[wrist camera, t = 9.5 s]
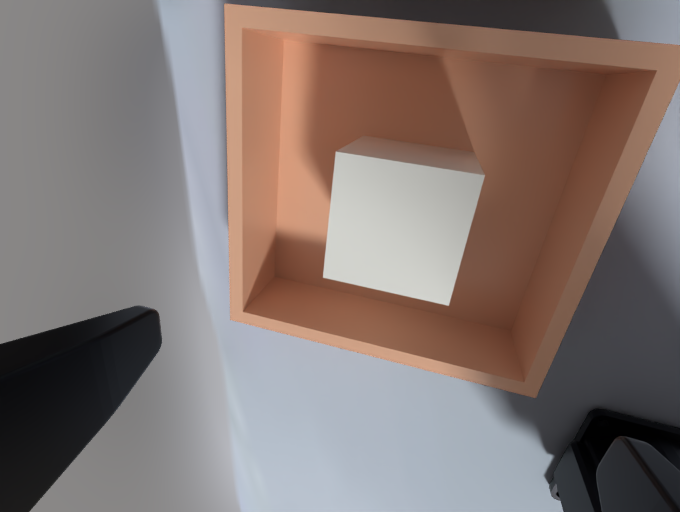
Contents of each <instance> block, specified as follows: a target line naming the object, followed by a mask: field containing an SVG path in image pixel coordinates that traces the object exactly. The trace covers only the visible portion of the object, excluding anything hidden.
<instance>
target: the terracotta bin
mask: <svg viewBox="0 0 680 512" xmlns="http://www.w3.org/2000/svg"><path fill="white" fill-rule="evenodd" d="M224 19H225V71H226V123H227V174H228V226H229V278H230V320H233V321H237V322H241V323H245V324H248V325H252V326H256V327H260V328H264V329H268V330H272V331H276V332H280V333H283V334H287V335H291V336H295V337H299V338H303V339H307V340H311V341H315V342H318V343H322V344H326V345H330V346H334V347H338V348H342V349H346V350H350V351H354V352H357V353H361V354H365V355H369V356H373V357H377V358H381V359H385V360H389V361H392V362H396V363H400V364H404V365H408V366H412V367H416V368H420V369H424V370H427V371H431V372H435V373H439V374H443V375H447V376H451V377H455V378H459V379H462V380H466V381H470V382H474V383H478V384H482V385H486V386H490V387H494V388H497V389H501V390H505V391H509V392H513V393H517V394H521V395H525V396H529V397H532V398H536V397H537V395H538V392H539V390H540V388H541V386H542V383H543V381H544V379H545V377H546V375H547V372H548V370H549V368H550V366H551V364H552V361H553V359H554V357H555V355H556V353H557V350H558V348H559V346H560V344H561V342H562V339H563V337H564V335H565V333H566V331H567V328H568V326H569V324H570V322H571V320H572V317H573V315H574V313H575V311H576V309H577V306H578V304H579V302H580V300H581V298H582V295H583V293H584V291H585V289H586V286H587V284H588V282H589V280H590V278H591V275H592V273H593V271H594V269H595V267H596V264H597V262H598V260H599V258H600V256H601V253H602V251H603V249H604V247H605V245H606V242H607V240H608V238H609V236H610V234H611V231H612V229H613V227H614V225H615V223H616V220H617V218H618V216H619V214H620V212H621V209H622V207H623V205H624V203H625V200H626V198H627V196H628V194H629V192H630V189H631V187H632V185H633V183H634V181H635V178H636V176H637V174H638V172H639V170H640V167H641V165H642V163H643V161H644V159H645V156H646V154H647V152H648V150H649V148H650V145H651V143H652V141H653V139H654V137H655V134H656V132H657V130H658V128H659V126H660V123H661V121H662V119H663V117H664V115H665V112H666V110H667V108H668V106H669V103H670V101H671V99H672V97H673V95H674V92H675V90H676V88H677V86H678V84H679V81H680V45H673V44H662V43H651V42H640V41H629V40H618V39H607V38H596V37H585V36H574V35H563V34H552V33H541V32H530V31H519V30H509V29H498V28H487V27H476V26H465V25H454V24H443V23H432V22H421V21H410V20H399V19H388V18H377V17H366V16H355V15H345V14H334V13H323V12H312V11H301V10H290V9H279V8H268V7H257V6H246V5H235V4H224ZM362 136H370V137H377V138H383V139H390V140H397V141H404V142H410V143H417V144H424V145H430V146H437V147H444V148H450V149H457V150H464V151H470V152H475V154H476V157H477V159H478V161H479V163H480V165H481V168H482V170H483V172H484V174H485V177H484V181H483V184H482V188H481V191H480V195H479V199H478V202H477V206H476V209H475V213H474V217H473V220H472V224H471V227H470V231H469V235H468V238H467V242H466V245H465V249H464V253H463V256H462V260H461V263H460V267H459V271H458V274H457V278H456V281H455V285H454V289H453V292H452V296H451V299H450V303H449V306H448V305H443V304H439V303H434V302H430V301H425V300H421V299H416V298H412V297H407V296H403V295H398V294H394V293H389V292H385V291H381V290H376V289H372V288H367V287H363V286H358V285H354V284H349V283H345V282H340V281H336V280H331V279H327V278H323V271H324V261H325V252H326V242H327V232H328V222H329V213H330V203H331V193H332V184H333V174H334V164H335V154H336V151H338V150H339V149H341V148H343V147H345V146H346V145H348V144H350V143H352V142H353V141H355V140H357V139H358V138H360V137H362Z"/></svg>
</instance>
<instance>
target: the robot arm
mask: <svg viewBox="0 0 680 512" xmlns="http://www.w3.org/2000/svg"><path fill="white" fill-rule="evenodd" d="M161 344H162V336H161V326H160V318H159V313H158V312H157V311H156V310H155V309H152V308H148V307H145V306H134V307H131V308H127V309H123V310H120V311H116V312H112V313H109V314H106V315H102V316H98V317H95V318H91V319H88V320H84V321H80V322H77V323H73V324H70V325H66V326H63V327H59V328H56V329H52V330H48V331H45V332H41V333H38V334H35V335H31V336H27V337H24V338H20V339H17V340H13V341H9V342H6V343H3V344H0V512H29V511H30V510H31V509H32V508H33V507H34V506H35V505H36V503H37V502H38V501H39V500H40V498H42V497H43V495H44V494H45V493H46V492H47V491H48V489H49V488H50V487H51V486H52V485H53V484H54V483H55V481H56V480H57V479H58V478H59V477H60V476H61V474H62V473H63V472H64V471H65V470H66V469H67V467H68V466H69V465H70V464H71V463H72V462H73V460H74V459H75V458H76V457H77V456H78V455H79V454H80V452H81V451H82V450H83V449H84V448H85V447H86V445H87V444H88V443H89V442H90V441H91V440H92V438H93V437H94V436H95V435H96V434H97V433H98V431H99V430H100V429H101V428H102V427H103V426H104V425H105V423H106V422H107V421H108V420H109V419H110V417H111V416H112V415H113V414H114V412H115V411H116V410H117V409H118V407H119V406H120V405H121V403H122V402H123V400H124V399H125V398H126V396H127V395H128V394H129V392H130V391H131V389H132V388H133V387H134V385H135V384H136V382H137V381H138V380H139V378H140V377H141V375H142V374H143V373H144V371H145V370H146V368H147V367H148V366H149V364H150V363H151V361H152V360H153V358H154V357H155V356H156V354H157V353H158V351H159V349H160V347H161ZM600 419H604V420H601V421H598V420H600ZM553 475H554V478H553V479H552V481H551V483H550V485H549V489H550V492H551V495H552V497H553V498H554V499H556V500H559V501H561V504H562V507H563V511H564V512H680V429H679V428H675V427H671V426H667V425H663V424H659V423H655V422H651V421H647V420H643V419H639V418H635V417H631V416H627V415H623V414H620V413H616V412H612V411H608V410H604V409H595V410H593V411H591V412H590V413H589V414H588V416H587V418H586V419H585V421H584V423H583V425H582V427H581V428H580V430H579V432H578V434H577V436H576V438H575V439H574V441H573V442H571V443H570V444H569V446H568V447H567V449H566V451H565V453H564V455H563V457H562V458H561V460H560V462H559V464H558V466H557V468H556V470H555V471H554V474H553Z"/></svg>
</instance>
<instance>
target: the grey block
mask: <svg viewBox="0 0 680 512" xmlns="http://www.w3.org/2000/svg"><path fill="white" fill-rule="evenodd" d="M484 177H485V174H484V172H483V170H482V168H481V165H480V163H479V161H478V159H477V157H476V154H475V152H470V151H464V150H457V149H450V148H444V147H437V146H430V145H424V144H417V143H410V142H404V141H397V140H390V139H383V138H377V137H370V136H362V137H360V138H358V139H357V140H355V141H353V142H352V143H350V144H348V145H346V146H345V147H343V148H341V149H339V150H338V151H336V154H335V164H334V174H333V184H332V193H331V203H330V213H329V222H328V232H327V242H326V252H325V261H324V271H323V278H327V279H331V280H336V281H340V282H345V283H349V284H354V285H358V286H363V287H367V288H372V289H376V290H381V291H385V292H389V293H394V294H398V295H403V296H407V297H412V298H416V299H421V300H425V301H430V302H434V303H439V304H443V305H448V306H449V303H450V299H451V296H452V292H453V289H454V285H455V281H456V278H457V274H458V271H459V267H460V263H461V260H462V256H463V253H464V249H465V245H466V242H467V238H468V235H469V231H470V227H471V224H472V220H473V217H474V213H475V209H476V206H477V202H478V199H479V195H480V191H481V188H482V184H483V181H484Z"/></svg>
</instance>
